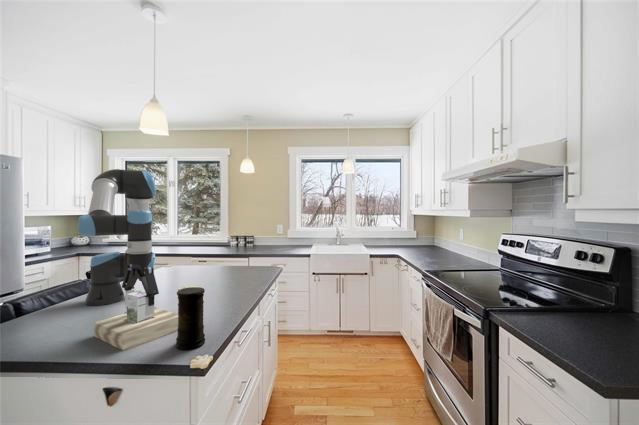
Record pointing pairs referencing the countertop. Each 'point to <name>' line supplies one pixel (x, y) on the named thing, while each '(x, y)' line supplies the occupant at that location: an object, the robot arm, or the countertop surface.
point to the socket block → (135, 329)
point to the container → (190, 318)
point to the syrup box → (136, 307)
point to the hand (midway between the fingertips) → (139, 311)
